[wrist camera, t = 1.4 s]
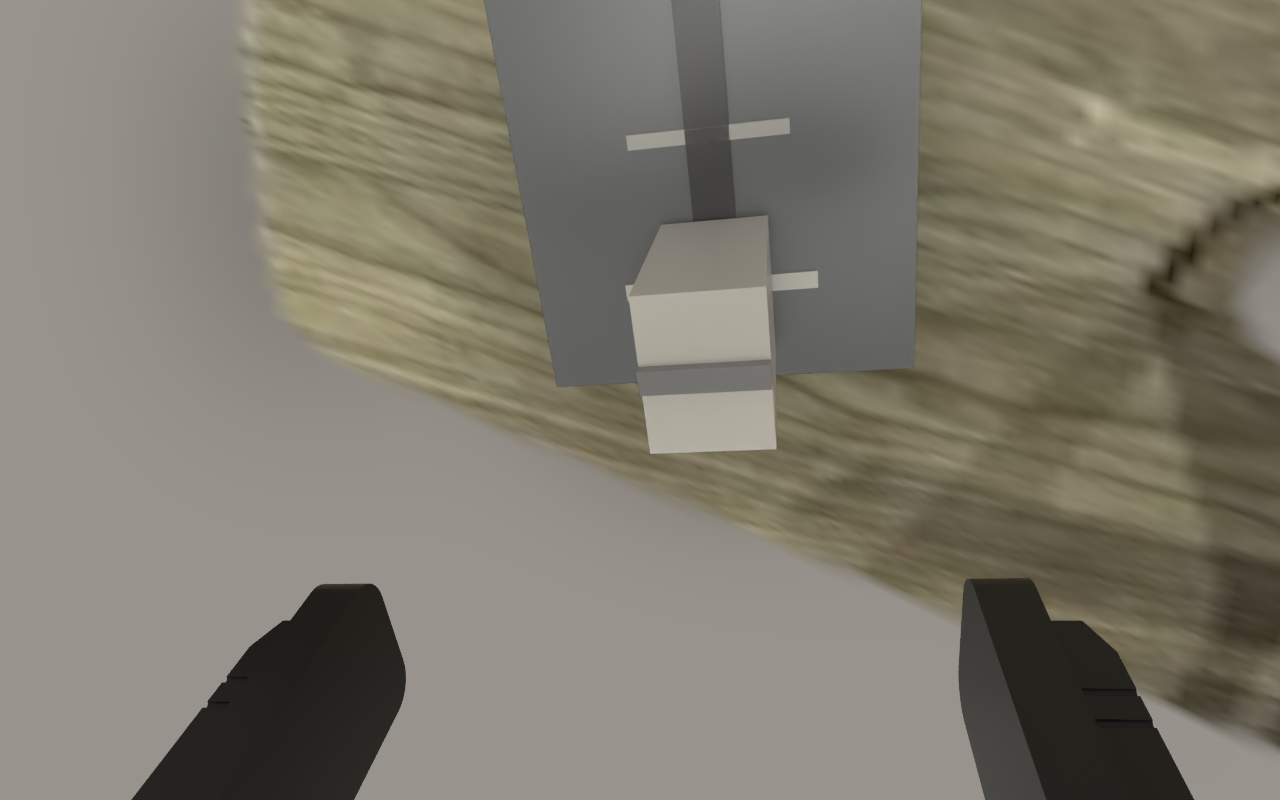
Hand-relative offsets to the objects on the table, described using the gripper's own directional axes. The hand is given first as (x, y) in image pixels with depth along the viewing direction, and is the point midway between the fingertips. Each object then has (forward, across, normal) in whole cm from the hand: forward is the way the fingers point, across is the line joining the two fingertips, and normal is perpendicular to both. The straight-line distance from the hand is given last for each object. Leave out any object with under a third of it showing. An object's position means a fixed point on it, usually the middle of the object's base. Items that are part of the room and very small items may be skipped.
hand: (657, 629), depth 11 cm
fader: (+14, 0, 0) cm, 14 cm away
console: (+18, 0, -6) cm, 19 cm away
